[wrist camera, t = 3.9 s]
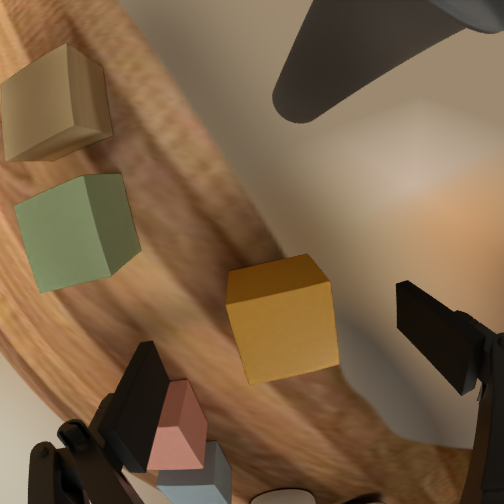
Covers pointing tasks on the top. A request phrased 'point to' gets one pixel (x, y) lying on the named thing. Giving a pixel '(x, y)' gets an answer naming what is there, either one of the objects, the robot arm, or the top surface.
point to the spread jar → (367, 501)
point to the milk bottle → (285, 497)
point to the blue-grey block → (199, 480)
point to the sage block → (78, 231)
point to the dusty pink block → (179, 431)
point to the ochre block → (282, 318)
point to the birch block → (54, 107)
